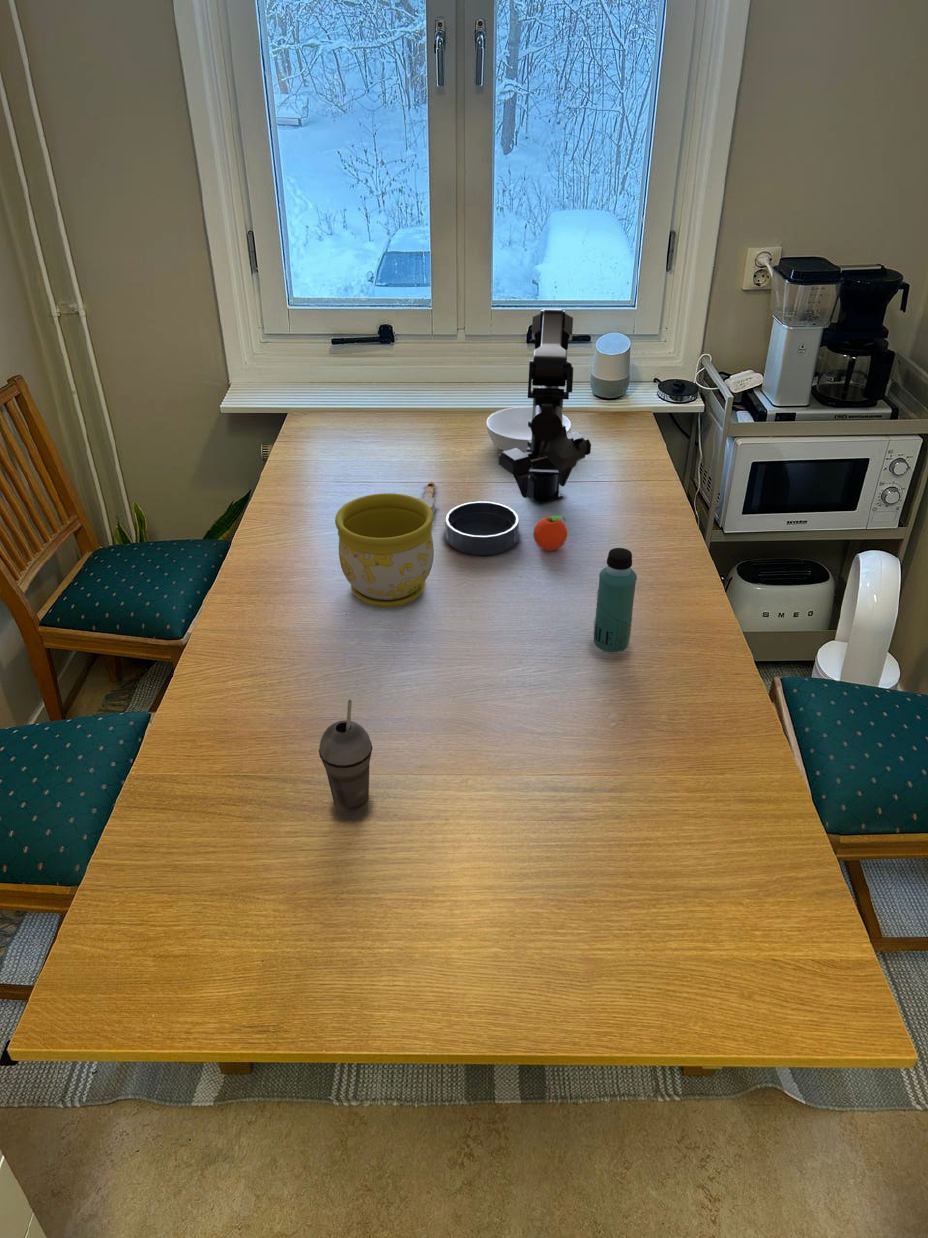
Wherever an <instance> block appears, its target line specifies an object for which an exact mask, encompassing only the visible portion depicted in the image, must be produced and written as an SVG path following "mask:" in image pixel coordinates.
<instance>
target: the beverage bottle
mask: <svg viewBox="0 0 928 1238" xmlns="http://www.w3.org/2000/svg"><path fill="white" fill-rule="evenodd" d="M606 565H607V566H605V567H603V568H602V569H601V570H600V572H599V575H598V577H599V579H598V585H597V586H598V587H597V588H598V589H597V590H596V591H597V592H596V594H597V596H596V608H595V619H594V620H593V624H594V625H593V627H594V629H593V633H592V634H593V642H594V645H595V646H596V648H597V649H599V650H601V651H603V652H606V653H610V654H611V653H614V654H615V653H620V652H623V651H625V650H626V649H627V648H628V646H629V644H630V639H631V637H632V636H631V635H632V632H631V631H632V623H633V616H634V614H633V611H634V600H635V593H636V583H637V579H638V576H637V574H636V572H635V571H634V569H632V566H633V553H632V551H631V550H629V549H627V548H624V547H614V548H611V549H610V550H609V551H608V554H607V558H606Z"/></svg>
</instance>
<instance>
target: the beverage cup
mask: <svg viewBox="0 0 928 1238" xmlns="http://www.w3.org/2000/svg"><path fill="white" fill-rule="evenodd" d="M352 702H353V701H352V699H347V707H346V708H347V709H346V710H347V711H346V719H343V720H338V721H336V722H333V723H332V724H330V725H329V726H328V727H327V728H326V729H325V731H324V732H323V733H322V735H321V739H320V741H319V748H318V754H319V758H320V759H321V762H322V765H323V767H324V769H325V772H326V776H327V780H328V784H329V788H330V792H331V797H332V800H333V804H334V807H335V810H336V814H337V815H338V816H339V817H340V818H341V819H344V820H348V821H353V820H358V819H360V818H362V817H363V816H364V815H366V813H367V812H368V809H369V799H370V797H369V796H370V765H371V764H370V763H371V759H372V758H371V757H372V752H373V743H372V740H371V738H370V735H369V733H368V731H367V730H366V729H365V728H364V727H363V726H362V725H361V724H359V723H358V722H356V721H354V720H352V706H353V705H352V704H353V703H352Z"/></svg>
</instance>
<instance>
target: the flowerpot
mask: <svg viewBox="0 0 928 1238" xmlns="http://www.w3.org/2000/svg"><path fill="white" fill-rule="evenodd" d="M433 523H434V513H433V512H432V510H431V508H430V507H429V506H428V505H427V504H426V503H425V502H423V501H421V500H419V499H418V498H417V497H414V496H411V495H408V494H403V493H393V492H391V493H389V492H388V493H387V492H386V493H385V492H384V493H383V492H381V493H372V494H368V495H363V496H360V497H357V498H355V499H352V500H350V501H348V502H346V503H345V504H344V505H342V506H341V507H340V508H339V510H338V511H337V512H336V515H335V519H334V524H335V527H336V529H337V536H338V559H339V565H340V568H341V570H342V573H343V575H344V577H345V579H346V580H347V582H348V583H349V584H350V589H351V592H352V594H353V596H355V597H357V598H358V599H359V600H360V601H361V602H362V603H365V604H366V605H368V606H372V607H374V608H375V607H376V608H384V609H385V608H386V609H390V608H397V607H402V606H404V605H407V604H410V603H412V602H413V601H415V600H416V599H417V598H418V597H419V596H420V595H421V594H422V593H423V592H424V590H425V588H426V584H427V583H426V581H427V579H428V578H429V576H430V573H431V571H432V568H433V563H434V556H435V547H434V538H433V534H432V532H433Z"/></svg>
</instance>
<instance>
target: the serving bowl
mask: <svg viewBox="0 0 928 1238" xmlns="http://www.w3.org/2000/svg"><path fill="white" fill-rule="evenodd" d="M532 410H533V406H514V407H508V408H504V409H500V410H497V411H495V412H493V413H491V414H490V415H489V416H488V417H487V418H486V422H485V424H486V425H485V426H486V431H487V435H488V437H489V439H490V441H491V442H492V443H493V444H494V445H495V446H496V447H497V448H499V449H501V450H502V451H507V450H510V449H514V448H517V449H519V450H521V451H522V452H524V453H526V452H527V448H530V447H528V446H527V441H530V440H531V438H532V431H531V428H530V427H528V421H531V419H532ZM562 425H564V426H566V434H569V433H571V429H572V421H570V419H569V418H568V417H567V416H566V415H564V414H563V416H562Z"/></svg>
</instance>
